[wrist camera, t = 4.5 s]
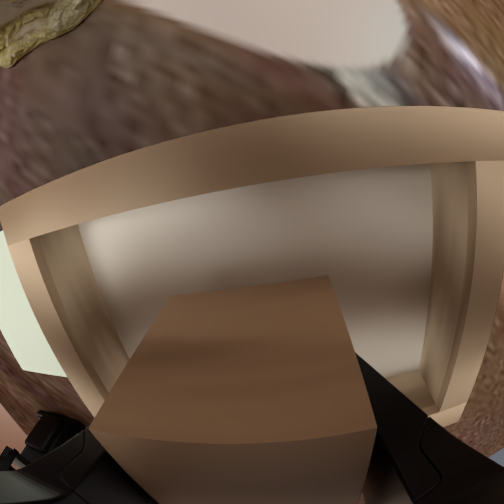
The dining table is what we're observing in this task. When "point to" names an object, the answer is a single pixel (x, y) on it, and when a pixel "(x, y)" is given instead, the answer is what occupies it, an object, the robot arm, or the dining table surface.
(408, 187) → the box
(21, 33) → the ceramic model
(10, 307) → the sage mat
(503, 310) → the dining table surface
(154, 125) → the dining table surface
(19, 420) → the dining table surface
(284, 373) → the walnut block
